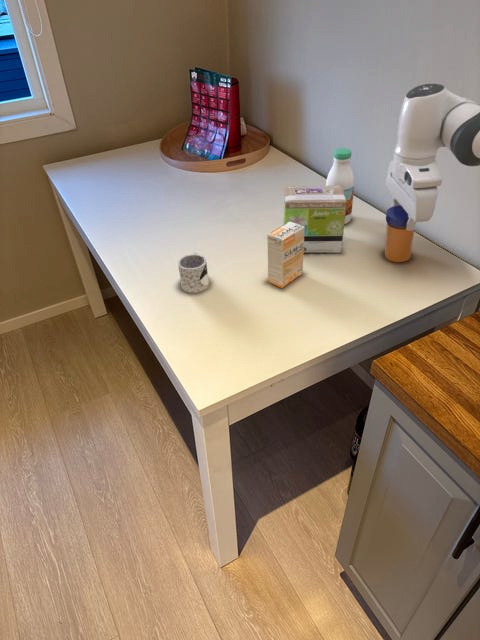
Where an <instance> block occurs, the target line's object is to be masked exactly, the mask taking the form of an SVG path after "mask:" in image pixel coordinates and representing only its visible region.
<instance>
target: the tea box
mask: <svg viewBox="0 0 480 640" xmlns="http://www.w3.org/2000/svg"><path fill="white" fill-rule="evenodd" d="M345 213H346V199H345V195H344V191H343V188H342V185H339V186H326V185H299V186H298V185H291V186H290V185H288V186H287V185H286V186H284V187H283V220H282V221H283V223H282V226H283V225H285V224H286V223H288V222H293V223H296V224H299V225H301V226H304V227H305V230H304V253H325V254H327V253H332V254H333V253H335V254H340V253H341V252H342V248H343V240H344V232H345V231H344V230H345V224H344V221H345ZM304 253H303V254H304Z"/></svg>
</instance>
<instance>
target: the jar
mask: <svg viewBox="0 0 480 640" xmlns="http://www.w3.org/2000/svg"><path fill="white" fill-rule="evenodd" d="M414 235H415V229H414V230H411V231H408V230H407V229H406V228H405V227H394V226H391V225H389V224H388V223H387V222H386V233H385V243H384V257H385V259H386V260H388V261H390V262H393V263H404V262H407V261H408V260H410V259H411V257H412V253H413V252H412V250H413V243H414Z"/></svg>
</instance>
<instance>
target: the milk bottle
mask: <svg viewBox="0 0 480 640" xmlns="http://www.w3.org/2000/svg"><path fill="white" fill-rule="evenodd" d="M351 159H352V150H351V149H349V148H345V147H339V148H336V149H334V150H333V164H332V166H331V168H330V171H329V172H328V174H327V177H326V182H325V186H339V185H342V188H343V191H344V195H345V199H346V213H345V221H344V225H347V224H348V223H350V221H351V220H352V215H353V205H354V192H355V175H354V172H353V170H352V167H351Z"/></svg>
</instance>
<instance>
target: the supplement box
mask: <svg viewBox="0 0 480 640" xmlns="http://www.w3.org/2000/svg"><path fill="white" fill-rule="evenodd" d="M304 230H305V227H304V226H301V225H299V224H296V223H293V222H288V223H286V224H285V225H283V224H282V225H281V226H279V227H278V228H276V229H274V230H272V231H271V232H269V233H267V234H266V235H267V238H266V239H267V242H266V243H267V282H268V283H269V284H272V285H274V286H277V287H278V288H281V289H283V288H285V287H286V286H287V285H289V284H290V283H291V282H293V281H294V280H295V279H297V278H299V277H300V276H302V275H303V273H304Z"/></svg>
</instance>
